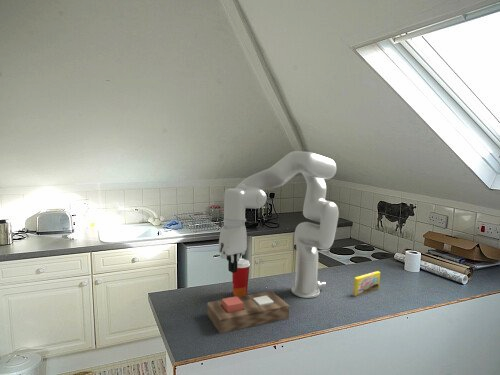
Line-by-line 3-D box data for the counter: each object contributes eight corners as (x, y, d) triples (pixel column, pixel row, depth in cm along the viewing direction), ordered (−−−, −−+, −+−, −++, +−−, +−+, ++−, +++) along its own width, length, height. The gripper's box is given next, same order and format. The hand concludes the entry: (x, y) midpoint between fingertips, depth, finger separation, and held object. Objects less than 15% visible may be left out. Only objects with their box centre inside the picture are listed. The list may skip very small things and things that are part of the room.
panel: (271, 302, 151) (271, 291, 150) (288, 317, 139) (289, 305, 138) (207, 315, 139) (207, 302, 138) (219, 333, 127) (220, 319, 126)
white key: (266, 302, 145) (266, 295, 145) (273, 309, 140) (273, 301, 139) (252, 305, 143) (253, 298, 142) (259, 312, 137) (259, 304, 137)
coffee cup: (239, 288, 164) (239, 256, 162) (253, 294, 159) (254, 261, 156) (226, 294, 157) (226, 261, 155) (240, 300, 152) (241, 266, 150)
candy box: (356, 296, 159) (357, 278, 157) (352, 295, 160) (353, 277, 159) (379, 289, 168) (380, 271, 166) (375, 287, 169) (377, 270, 168)
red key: (236, 303, 139) (236, 296, 139) (242, 310, 134) (243, 302, 134) (221, 306, 137) (222, 298, 136) (227, 313, 132) (227, 305, 131)
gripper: (243, 218, 138) (242, 264, 141) (211, 223, 129) (210, 272, 131) (256, 222, 133) (254, 270, 135) (223, 227, 123) (222, 279, 126)
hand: (232, 271), depth 133 cm, fingers closed
